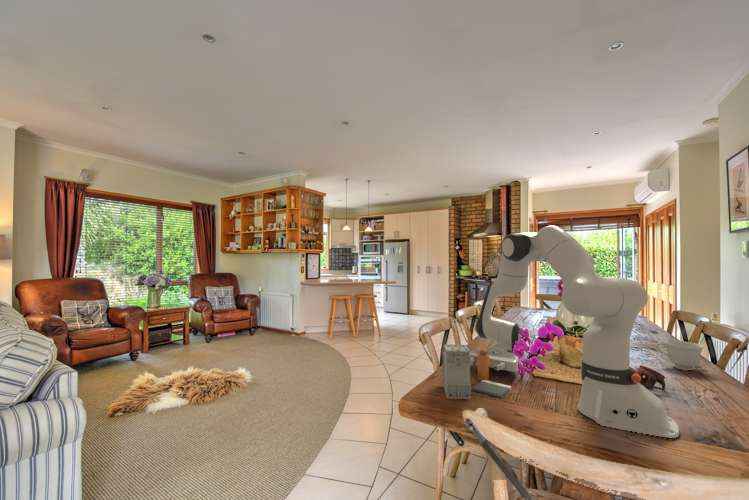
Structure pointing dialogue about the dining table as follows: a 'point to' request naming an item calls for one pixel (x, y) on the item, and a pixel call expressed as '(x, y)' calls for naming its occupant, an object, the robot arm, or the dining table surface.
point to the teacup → (682, 353)
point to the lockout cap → (483, 365)
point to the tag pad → (491, 388)
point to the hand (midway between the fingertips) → (483, 365)
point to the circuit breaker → (456, 371)
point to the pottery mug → (650, 377)
